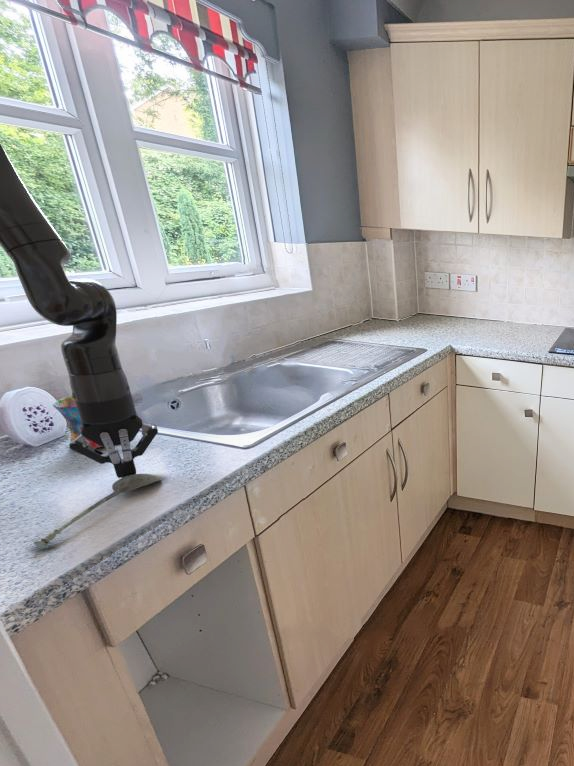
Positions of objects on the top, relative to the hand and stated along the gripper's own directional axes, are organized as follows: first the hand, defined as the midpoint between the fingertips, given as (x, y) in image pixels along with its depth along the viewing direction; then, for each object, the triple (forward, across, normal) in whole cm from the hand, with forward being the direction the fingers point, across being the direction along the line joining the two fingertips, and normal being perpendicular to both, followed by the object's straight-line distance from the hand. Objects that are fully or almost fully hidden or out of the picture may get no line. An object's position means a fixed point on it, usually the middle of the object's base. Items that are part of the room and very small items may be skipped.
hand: (127, 477), depth 88 cm
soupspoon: (+1, +4, +10) cm, 10 cm away
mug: (+1, +4, -24) cm, 24 cm away
